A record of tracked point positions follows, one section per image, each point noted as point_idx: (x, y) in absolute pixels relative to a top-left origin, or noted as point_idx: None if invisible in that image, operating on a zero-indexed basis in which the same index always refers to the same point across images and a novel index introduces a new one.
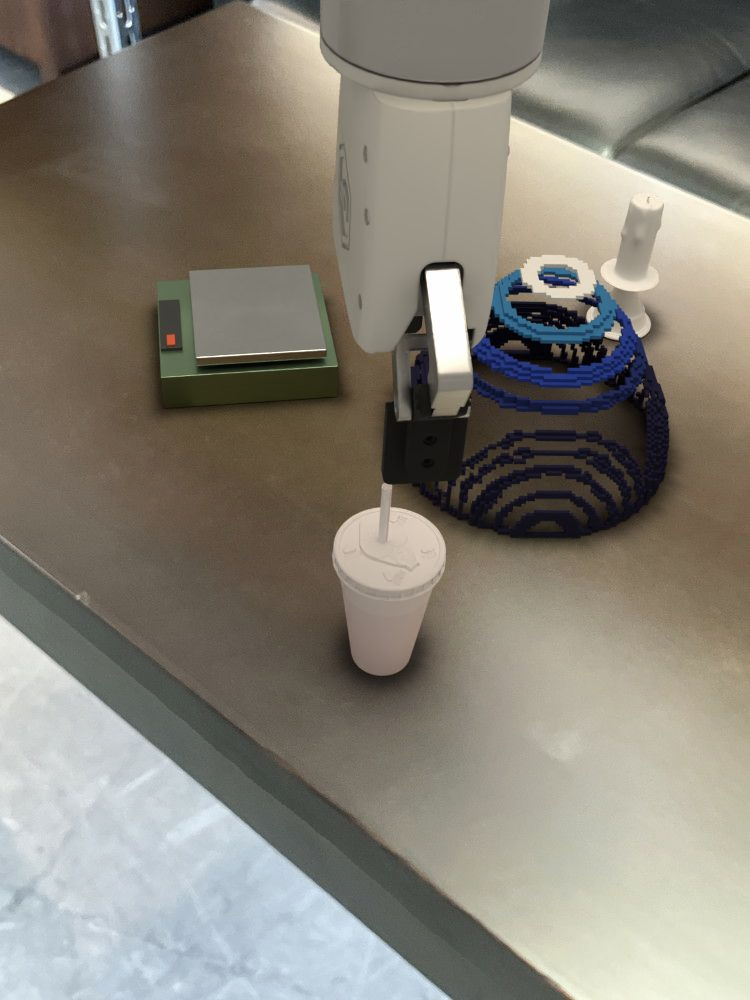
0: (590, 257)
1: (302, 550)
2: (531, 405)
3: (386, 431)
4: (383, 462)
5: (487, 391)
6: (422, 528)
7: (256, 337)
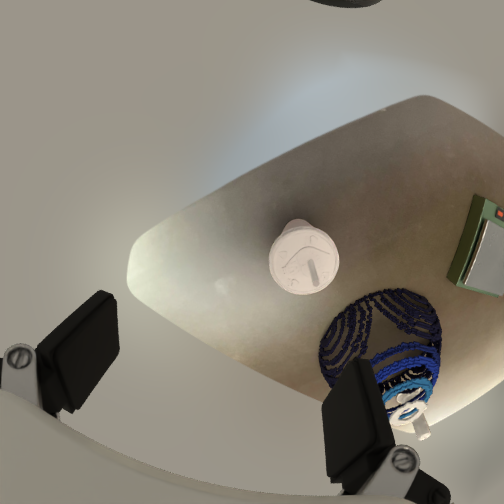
0: (438, 394)
1: (373, 221)
2: None
3: (57, 327)
4: (88, 301)
5: (389, 352)
6: (310, 286)
7: (485, 254)
